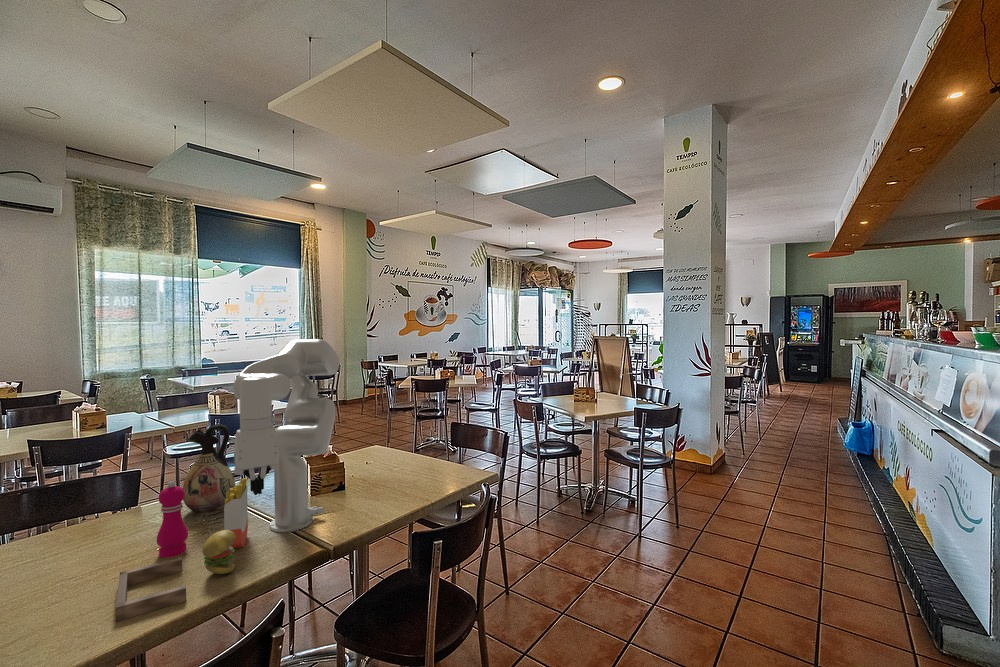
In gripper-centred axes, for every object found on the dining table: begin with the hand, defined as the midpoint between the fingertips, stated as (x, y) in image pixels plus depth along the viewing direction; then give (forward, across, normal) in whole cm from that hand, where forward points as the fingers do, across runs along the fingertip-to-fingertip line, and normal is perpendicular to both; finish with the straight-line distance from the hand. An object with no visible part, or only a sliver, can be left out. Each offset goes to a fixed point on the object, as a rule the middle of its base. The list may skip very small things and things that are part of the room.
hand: (257, 493), depth 125 cm
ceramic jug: (+19, +6, -48) cm, 52 cm away
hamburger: (+19, +9, 0) cm, 21 cm away
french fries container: (+19, +3, -16) cm, 25 cm away
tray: (+19, +22, 0) cm, 29 cm away
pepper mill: (+19, +18, -21) cm, 34 cm away
